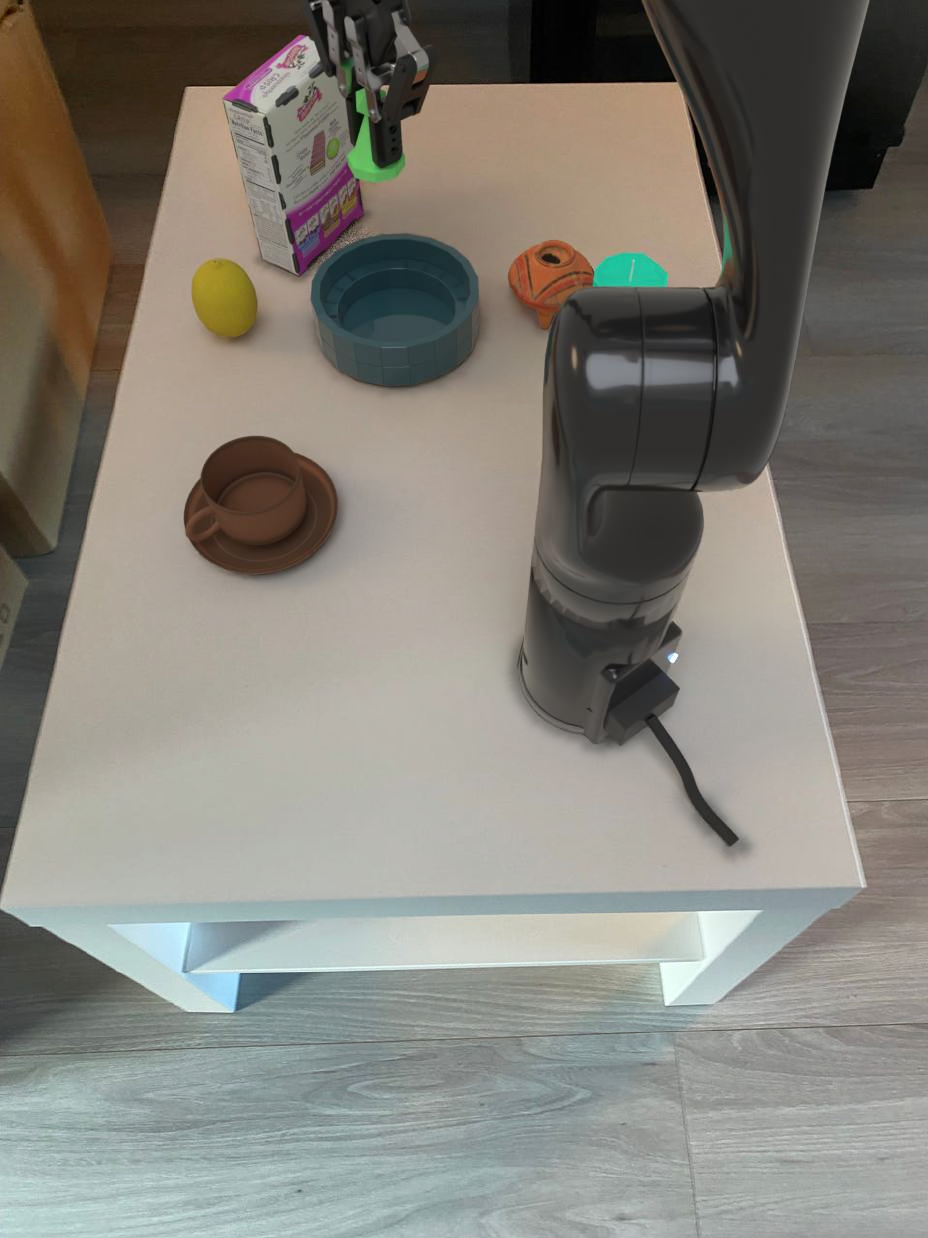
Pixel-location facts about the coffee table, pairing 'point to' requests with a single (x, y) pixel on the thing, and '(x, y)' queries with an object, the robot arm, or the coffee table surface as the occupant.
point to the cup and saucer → (259, 506)
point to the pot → (548, 277)
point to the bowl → (396, 308)
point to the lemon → (224, 297)
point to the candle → (630, 271)
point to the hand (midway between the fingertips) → (376, 152)
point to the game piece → (369, 150)
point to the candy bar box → (294, 156)
